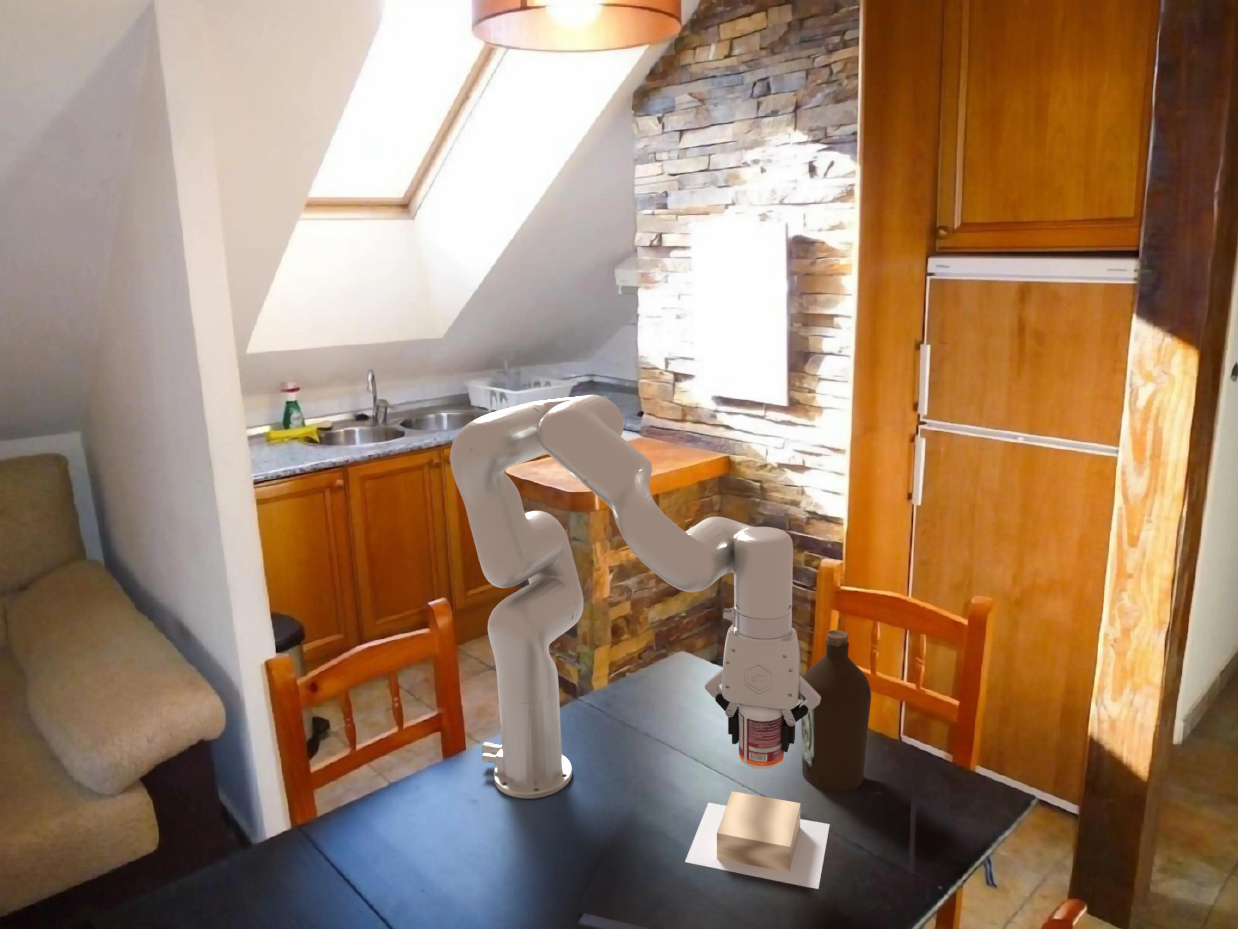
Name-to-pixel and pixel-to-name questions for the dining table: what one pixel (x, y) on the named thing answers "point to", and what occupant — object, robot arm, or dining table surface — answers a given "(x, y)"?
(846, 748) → the olive oil
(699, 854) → the white paper sheet
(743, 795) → the birch riser
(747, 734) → the pill bottle
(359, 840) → the dining table surface
